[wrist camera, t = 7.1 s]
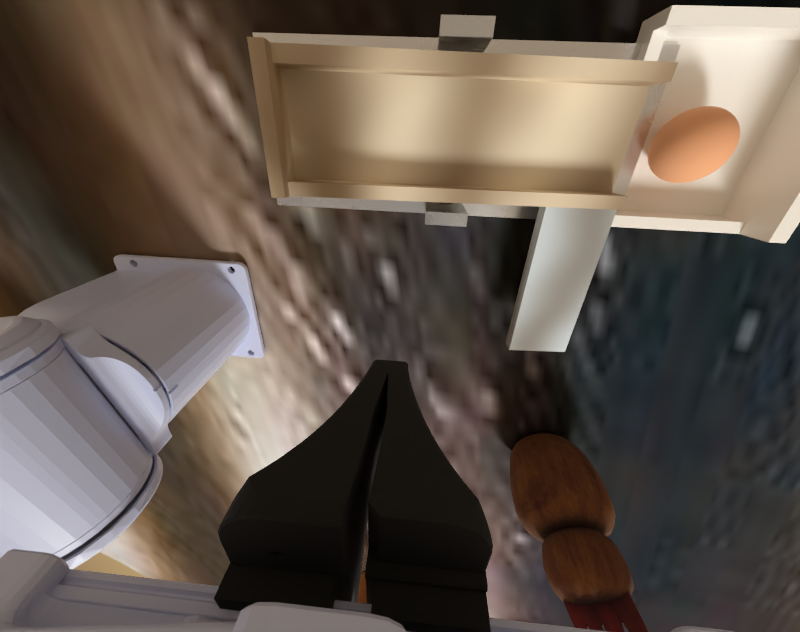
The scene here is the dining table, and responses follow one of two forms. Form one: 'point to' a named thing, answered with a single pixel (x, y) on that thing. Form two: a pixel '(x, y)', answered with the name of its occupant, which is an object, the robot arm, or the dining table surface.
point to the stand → (478, 37)
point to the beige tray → (463, 146)
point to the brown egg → (693, 144)
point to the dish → (751, 105)
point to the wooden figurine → (573, 532)
